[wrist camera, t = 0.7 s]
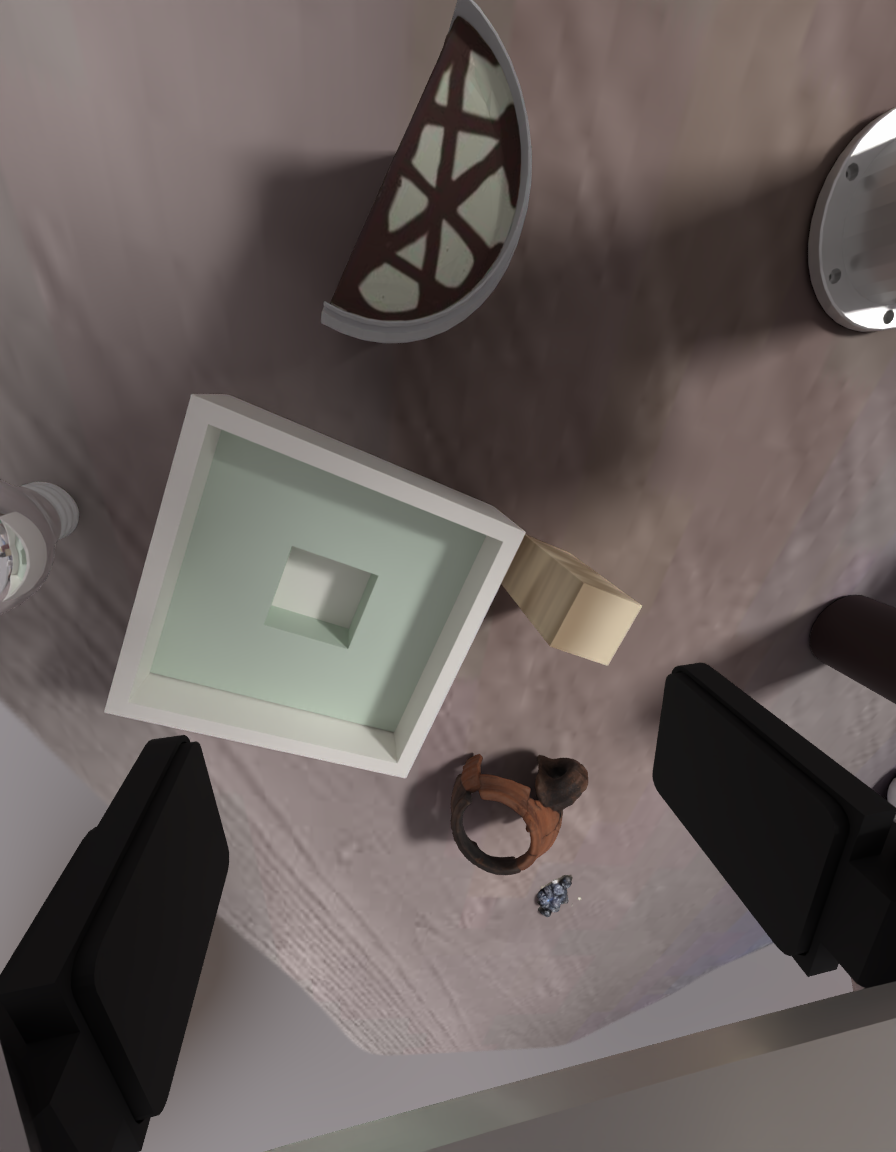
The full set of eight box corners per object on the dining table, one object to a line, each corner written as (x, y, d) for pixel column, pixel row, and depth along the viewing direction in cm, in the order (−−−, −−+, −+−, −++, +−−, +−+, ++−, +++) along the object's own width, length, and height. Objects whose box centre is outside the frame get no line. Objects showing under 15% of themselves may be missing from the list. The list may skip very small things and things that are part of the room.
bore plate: (477, 518, 33) (489, 529, 30) (391, 707, 37) (394, 732, 34) (236, 420, 28) (223, 422, 26) (167, 648, 32) (149, 672, 30)
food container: (420, 395, 31) (448, 396, 21) (329, 341, 29) (317, 315, 19) (521, 196, 28) (603, 98, 19) (427, 121, 26) (469, -30, 17)
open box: (493, 506, 34) (526, 532, 27) (397, 714, 38) (405, 778, 32) (228, 394, 29) (191, 394, 22) (152, 650, 33) (103, 712, 27)
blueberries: (595, 861, 50) (604, 877, 48) (571, 922, 52) (579, 940, 50) (536, 858, 48) (543, 874, 47) (513, 921, 50) (519, 939, 48)
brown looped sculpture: (513, 834, 46) (492, 905, 39) (449, 756, 47) (416, 812, 39) (616, 775, 42) (615, 843, 34) (543, 690, 42) (526, 738, 35)
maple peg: (569, 552, 36) (642, 605, 27) (545, 598, 37) (607, 665, 28) (523, 533, 35) (583, 582, 26) (499, 582, 36) (549, 646, 27)
